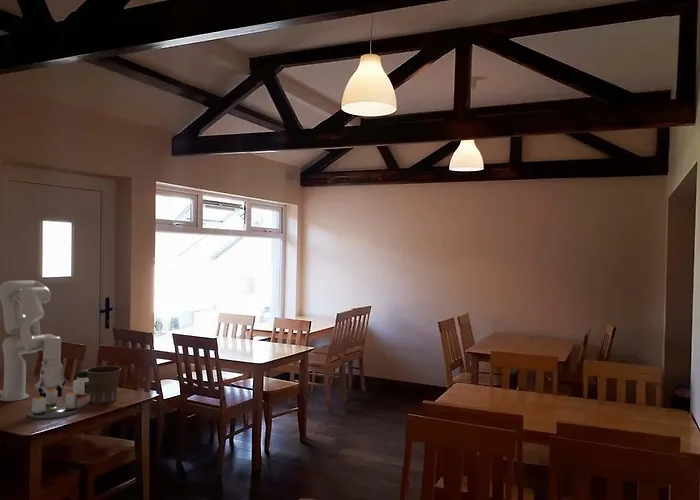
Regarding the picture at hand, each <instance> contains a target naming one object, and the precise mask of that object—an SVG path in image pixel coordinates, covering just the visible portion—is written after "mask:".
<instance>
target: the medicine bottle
mask: <svg viewBox="0 0 700 500" xmlns="http://www.w3.org/2000/svg"><path fill="white" fill-rule="evenodd" d="M86 370H87V369H81V370H78V371H77V373H76V379H75V380H73V381H72V383H73V384H72V393H78V395H79V396H80V395H81V396H85V395H88V393H89V394H90V389H89V379H88V374H87V372H86Z"/></svg>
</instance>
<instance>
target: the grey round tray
mask: <svg viewBox="0 0 700 500" xmlns="http://www.w3.org/2000/svg"><path fill="white" fill-rule="evenodd" d="M79 409H80V408H79V406H78V405H77V409H75V410H66V408H65V403H56V405H55V406H50V407H47V406H46V411H45V413H44V414H40V415H34V414H33V411H32V408H31V409H29V410H28V411H27V417H28V418H29V417H30V419H32V418H33V420H41V421H42V420H57V419H63V418H67V417H70V416H71V417H72V416H74V415H76V414H77V413H78V412H79Z"/></svg>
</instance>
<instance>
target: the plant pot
mask: <svg viewBox="0 0 700 500" xmlns="http://www.w3.org/2000/svg"><path fill="white" fill-rule="evenodd" d="M85 370H86V372H87V374H88V379H89V389H90V393H89V401H90V403H92V404H95V405H96V404H99V405H101V404H104V403H105V404H107V403H113V402H116V401H117V393H118V385H119V378H120V374H121V370H122V368H121V366H116V365H115V366H114V365H102V366H101V365H100V366H99V365H98V366H95V367H90V368H87V369H85Z"/></svg>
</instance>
